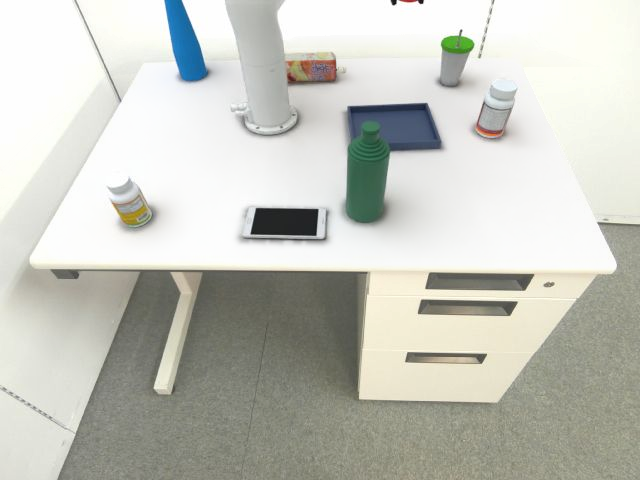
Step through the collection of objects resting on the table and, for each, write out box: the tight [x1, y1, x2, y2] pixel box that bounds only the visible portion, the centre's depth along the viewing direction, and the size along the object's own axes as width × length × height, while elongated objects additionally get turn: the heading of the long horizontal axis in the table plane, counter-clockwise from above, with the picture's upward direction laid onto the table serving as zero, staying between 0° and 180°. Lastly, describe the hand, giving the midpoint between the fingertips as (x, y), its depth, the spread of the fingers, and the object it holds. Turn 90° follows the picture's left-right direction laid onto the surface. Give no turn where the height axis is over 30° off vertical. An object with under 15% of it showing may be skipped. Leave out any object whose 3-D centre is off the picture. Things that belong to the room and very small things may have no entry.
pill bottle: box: [475, 78, 519, 139], centre depth 87 cm, size 6×6×11 cm
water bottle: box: [345, 121, 391, 224], centre depth 69 cm, size 7×7×18 cm
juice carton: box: [284, 51, 337, 83], centre depth 106 cm, size 21×7×7 cm, turn 91°
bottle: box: [163, 0, 208, 82], centre depth 101 cm, size 7×7×30 cm
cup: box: [439, 29, 476, 88], centre depth 100 cm, size 8×8×15 cm
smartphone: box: [241, 206, 327, 240], centre depth 74 cm, size 8×1×15 cm
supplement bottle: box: [105, 171, 153, 228], centre depth 73 cm, size 5×5×10 cm
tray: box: [346, 102, 442, 152], centre depth 92 cm, size 19×15×2 cm
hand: (406, 0), depth 70 cm, fingers closed on cap, 4 cm apart
